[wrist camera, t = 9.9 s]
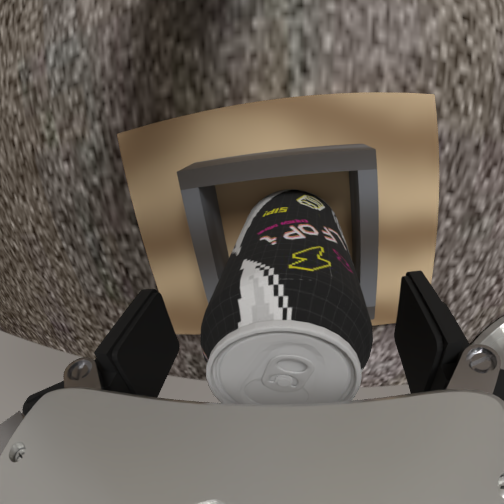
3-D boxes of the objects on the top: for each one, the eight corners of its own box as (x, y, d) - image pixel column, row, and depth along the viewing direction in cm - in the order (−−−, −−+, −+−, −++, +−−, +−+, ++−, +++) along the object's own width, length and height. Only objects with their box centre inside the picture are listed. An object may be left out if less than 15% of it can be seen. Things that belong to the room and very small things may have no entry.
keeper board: (419, 309, 21) (436, 344, 18) (178, 325, 25) (161, 358, 21) (426, 95, 15) (457, 92, 11) (125, 132, 18) (90, 139, 15)
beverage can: (350, 200, 17) (419, 333, 7) (322, 281, 20) (335, 444, 9) (257, 175, 18) (194, 280, 7) (238, 259, 20) (180, 412, 9)
